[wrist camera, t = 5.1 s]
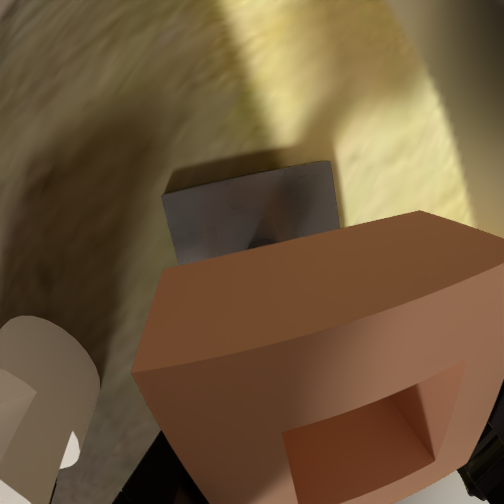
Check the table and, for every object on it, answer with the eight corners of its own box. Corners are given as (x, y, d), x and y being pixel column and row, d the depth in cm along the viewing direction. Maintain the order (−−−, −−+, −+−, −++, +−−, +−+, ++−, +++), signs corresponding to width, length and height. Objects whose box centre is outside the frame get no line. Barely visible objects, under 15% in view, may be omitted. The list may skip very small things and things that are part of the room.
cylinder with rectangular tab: (49, 295, 17) (-56, 421, 6) (124, 398, 20) (95, 543, 8) (-20, 337, 17) (-100, 433, 6) (47, 421, 20) (5, 531, 8)
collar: (419, 210, 8) (531, 249, 4) (410, 394, 10) (466, 463, 6) (163, 269, 7) (131, 372, 4) (229, 451, 10) (245, 547, 6)
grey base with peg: (323, 160, 17) (382, 163, 11) (341, 302, 20) (390, 357, 14) (163, 193, 17) (139, 213, 10) (203, 337, 19) (206, 409, 13)
